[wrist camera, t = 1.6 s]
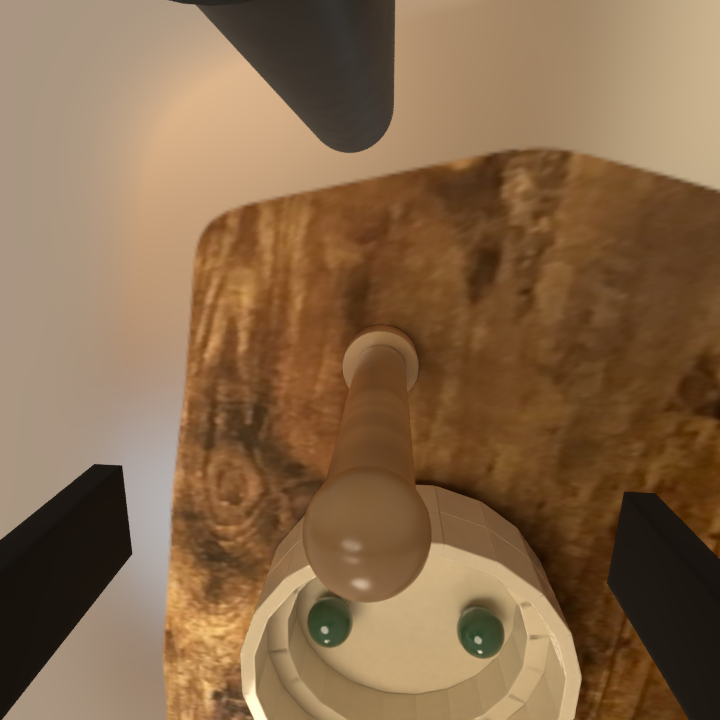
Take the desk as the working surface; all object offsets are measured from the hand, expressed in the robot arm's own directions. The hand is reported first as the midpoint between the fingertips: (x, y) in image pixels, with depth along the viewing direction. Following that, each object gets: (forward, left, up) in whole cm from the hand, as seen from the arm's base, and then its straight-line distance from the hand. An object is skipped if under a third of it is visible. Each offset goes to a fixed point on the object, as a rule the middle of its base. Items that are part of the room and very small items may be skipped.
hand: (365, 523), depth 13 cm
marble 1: (+16, -2, -13) cm, 21 cm away
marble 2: (+16, +7, -13) cm, 21 cm away
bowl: (+16, +2, -15) cm, 22 cm away
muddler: (0, 0, -15) cm, 15 cm away
